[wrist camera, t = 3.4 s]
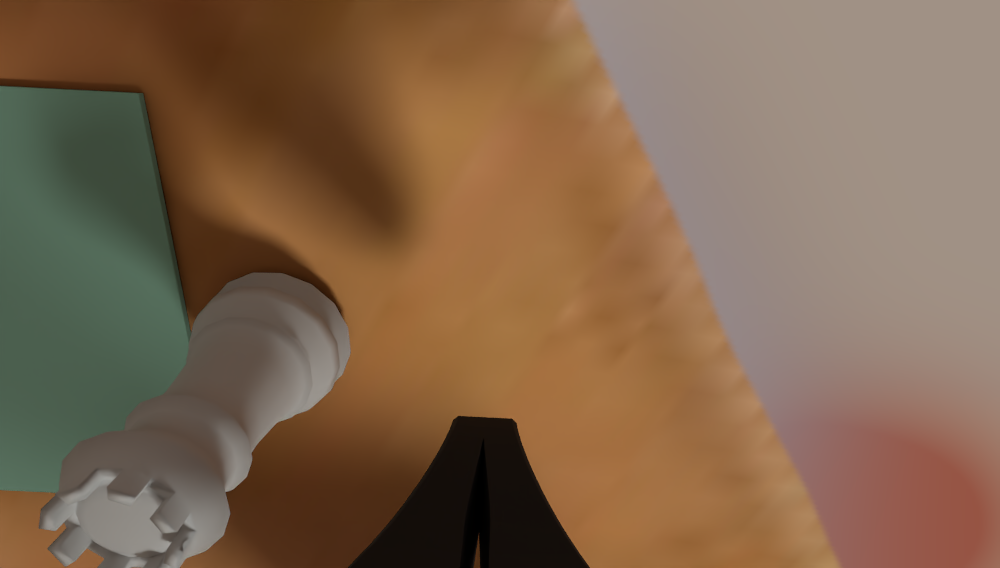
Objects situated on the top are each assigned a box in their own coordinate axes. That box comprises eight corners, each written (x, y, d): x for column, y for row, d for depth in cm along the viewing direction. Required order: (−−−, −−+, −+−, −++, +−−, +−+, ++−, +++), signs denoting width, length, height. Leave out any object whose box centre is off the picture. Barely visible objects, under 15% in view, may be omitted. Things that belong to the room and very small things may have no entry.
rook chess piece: (371, 380, 18) (272, 611, 10) (243, 399, 18) (58, 635, 11) (331, 254, 16) (177, 421, 9) (190, 278, 16) (-74, 459, 9)
